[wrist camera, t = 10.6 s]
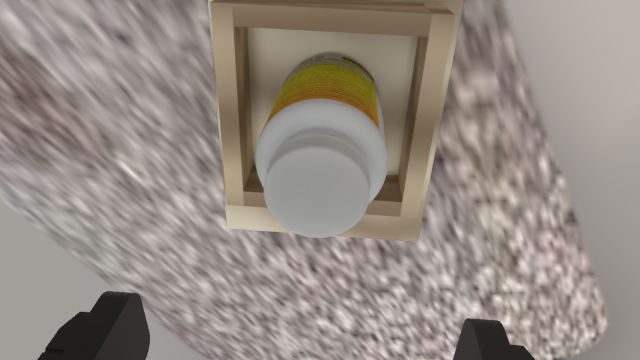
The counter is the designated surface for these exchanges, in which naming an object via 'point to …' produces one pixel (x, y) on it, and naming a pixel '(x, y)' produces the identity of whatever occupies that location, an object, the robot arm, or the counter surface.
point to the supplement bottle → (323, 147)
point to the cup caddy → (347, 40)
